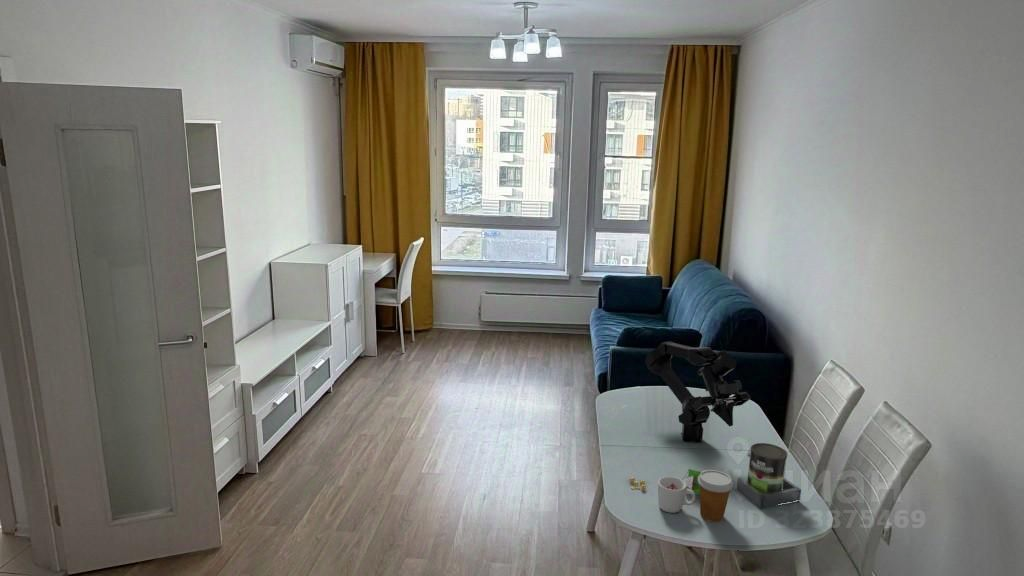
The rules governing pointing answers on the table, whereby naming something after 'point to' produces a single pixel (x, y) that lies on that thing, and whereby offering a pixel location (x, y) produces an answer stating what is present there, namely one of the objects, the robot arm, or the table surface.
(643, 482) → the dice set
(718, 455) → the table surface
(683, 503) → the cup
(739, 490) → the grey shallow tray
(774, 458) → the coffee can
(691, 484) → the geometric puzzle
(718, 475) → the disposable coffee cup
